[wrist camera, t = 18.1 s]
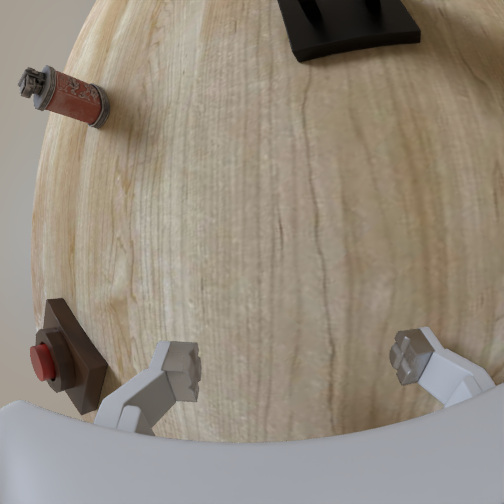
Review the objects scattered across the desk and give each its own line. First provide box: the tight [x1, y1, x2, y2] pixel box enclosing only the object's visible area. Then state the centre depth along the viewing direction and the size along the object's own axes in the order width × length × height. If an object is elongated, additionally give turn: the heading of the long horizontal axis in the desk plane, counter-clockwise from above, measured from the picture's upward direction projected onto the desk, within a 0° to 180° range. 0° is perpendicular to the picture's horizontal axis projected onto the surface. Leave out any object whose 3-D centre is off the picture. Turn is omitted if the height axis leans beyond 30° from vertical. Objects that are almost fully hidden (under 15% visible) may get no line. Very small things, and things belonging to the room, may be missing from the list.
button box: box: [36, 298, 108, 415], centre depth 23 cm, size 10×8×4 cm
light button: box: [30, 344, 56, 381], centre depth 20 cm, size 4×4×2 cm
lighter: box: [18, 65, 110, 128], centre depth 19 cm, size 8×3×10 cm, turn 40°
